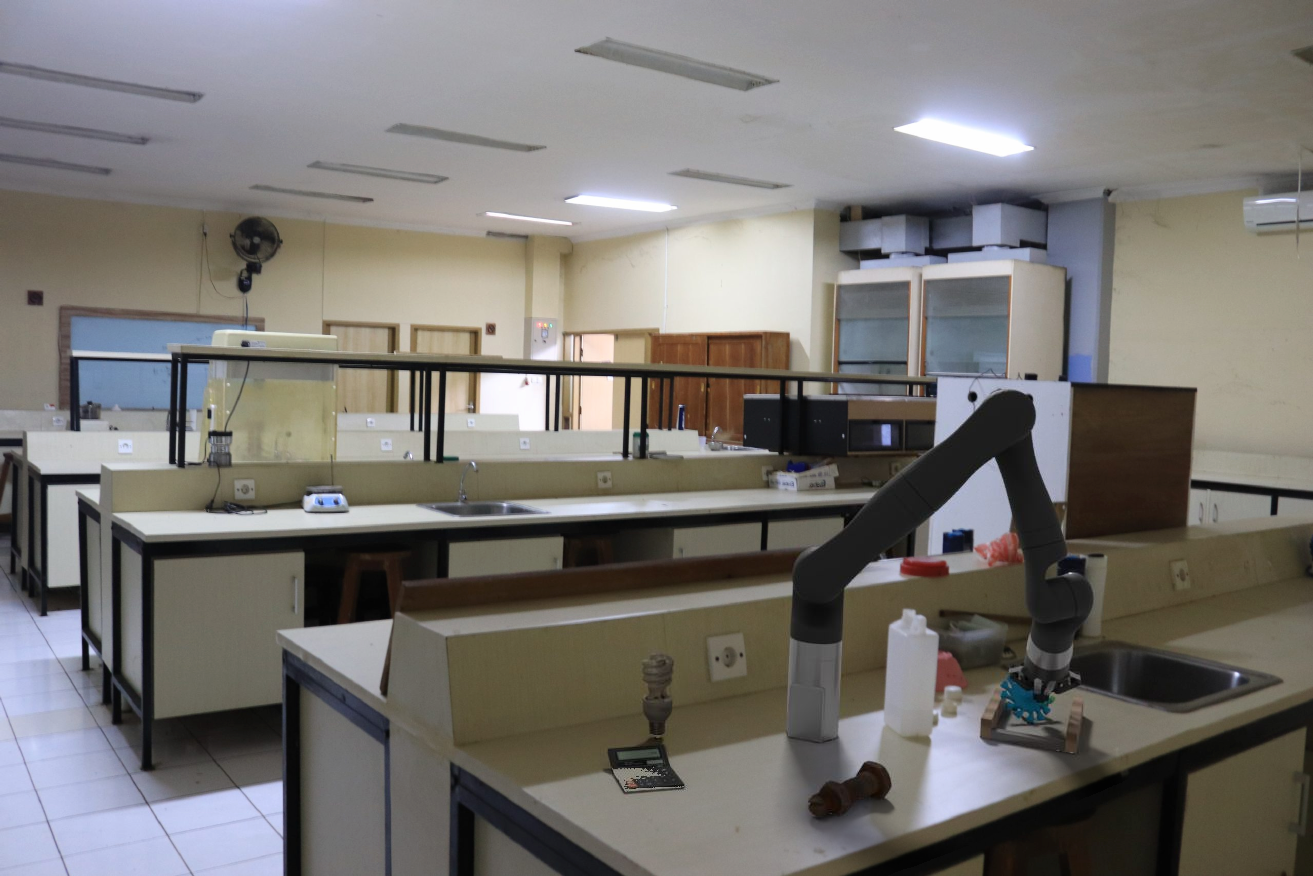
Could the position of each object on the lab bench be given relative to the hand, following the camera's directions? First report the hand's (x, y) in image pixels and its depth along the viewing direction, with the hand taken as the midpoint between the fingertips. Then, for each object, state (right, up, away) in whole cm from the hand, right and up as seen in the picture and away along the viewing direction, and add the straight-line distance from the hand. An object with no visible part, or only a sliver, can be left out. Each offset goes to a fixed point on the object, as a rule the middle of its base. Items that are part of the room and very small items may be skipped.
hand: (1039, 698), depth 187 cm
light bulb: (-74, -2, -17) cm, 76 cm away
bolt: (-45, -5, -43) cm, 63 cm away
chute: (-3, -4, -4) cm, 6 cm away
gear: (-2, -4, +1) cm, 5 cm away
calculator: (-75, -4, -34) cm, 83 cm away
